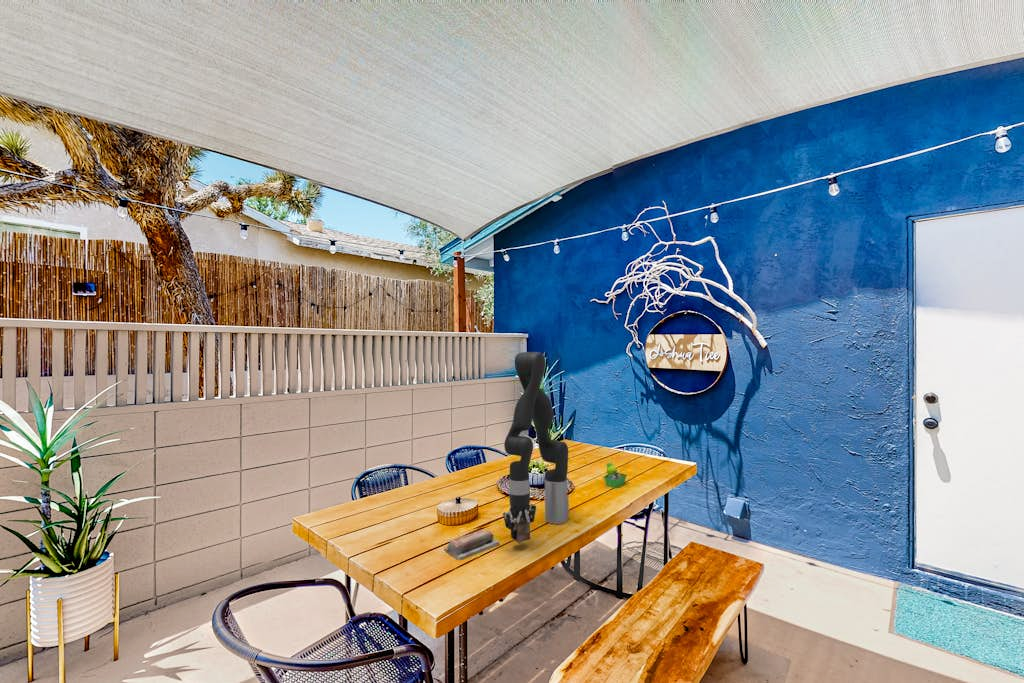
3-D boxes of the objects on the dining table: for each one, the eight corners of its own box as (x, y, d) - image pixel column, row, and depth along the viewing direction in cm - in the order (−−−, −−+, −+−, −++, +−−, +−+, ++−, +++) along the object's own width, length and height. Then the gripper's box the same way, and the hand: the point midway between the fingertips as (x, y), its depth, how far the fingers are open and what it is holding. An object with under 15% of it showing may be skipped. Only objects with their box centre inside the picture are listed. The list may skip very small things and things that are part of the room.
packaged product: (459, 548, 148) (443, 538, 155) (459, 562, 148) (443, 551, 155) (499, 532, 159) (483, 524, 167) (500, 545, 159) (483, 537, 167)
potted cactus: (615, 489, 219) (615, 467, 219) (600, 485, 225) (600, 463, 225) (627, 484, 226) (627, 463, 227) (613, 480, 233) (613, 459, 233)
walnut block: (521, 534, 161) (521, 518, 161) (530, 539, 157) (529, 522, 157) (511, 538, 158) (510, 521, 158) (519, 543, 154) (519, 526, 154)
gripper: (528, 483, 165) (529, 528, 165) (497, 492, 156) (498, 539, 156) (541, 489, 158) (542, 535, 159) (509, 498, 150) (510, 546, 150)
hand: (520, 536), depth 157 cm, fingers closed on walnut block, 5 cm apart
